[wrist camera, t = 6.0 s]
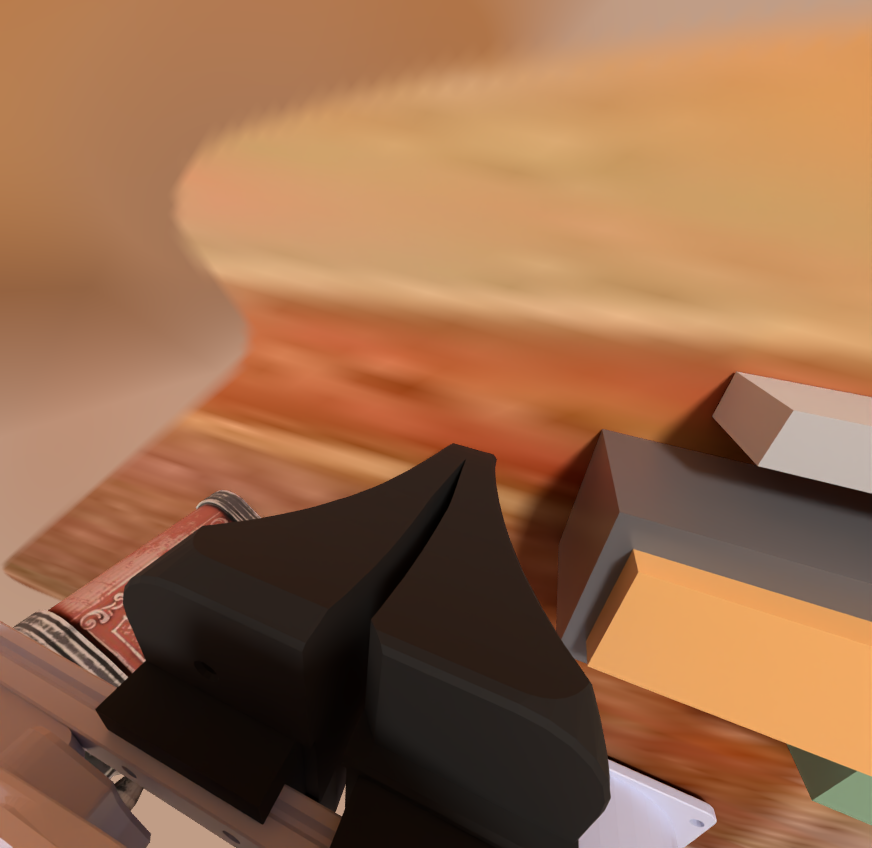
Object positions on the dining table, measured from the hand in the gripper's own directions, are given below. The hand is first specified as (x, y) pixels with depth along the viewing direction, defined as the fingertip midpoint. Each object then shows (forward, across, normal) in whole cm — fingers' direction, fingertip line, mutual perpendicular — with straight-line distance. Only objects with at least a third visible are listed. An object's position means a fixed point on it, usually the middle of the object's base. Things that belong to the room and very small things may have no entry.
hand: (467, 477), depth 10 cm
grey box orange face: (+2, -7, 0) cm, 7 cm away
